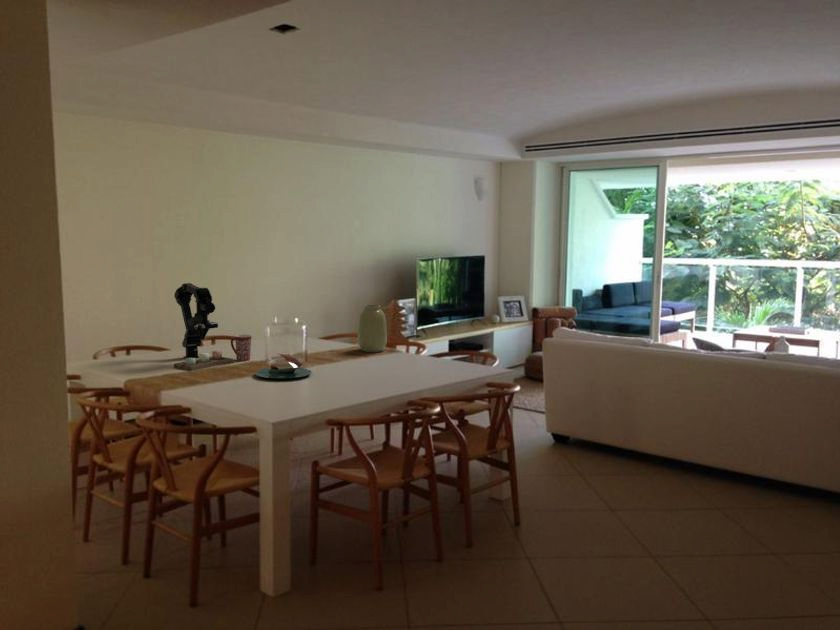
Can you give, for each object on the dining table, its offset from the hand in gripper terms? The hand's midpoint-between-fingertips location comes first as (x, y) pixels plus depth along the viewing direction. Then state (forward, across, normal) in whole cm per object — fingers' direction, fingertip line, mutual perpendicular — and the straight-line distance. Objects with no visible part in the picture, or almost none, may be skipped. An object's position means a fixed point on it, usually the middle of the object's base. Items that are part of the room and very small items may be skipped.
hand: (202, 339), depth 397 cm
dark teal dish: (+12, +60, -1) cm, 61 cm away
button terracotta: (+10, +8, +3) cm, 13 cm away
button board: (+12, +8, -6) cm, 16 cm away
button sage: (+11, +8, -15) cm, 20 cm away
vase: (+12, +51, +85) cm, 100 cm away
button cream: (+10, +8, -6) cm, 14 cm away
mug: (+12, +12, +16) cm, 24 cm away
